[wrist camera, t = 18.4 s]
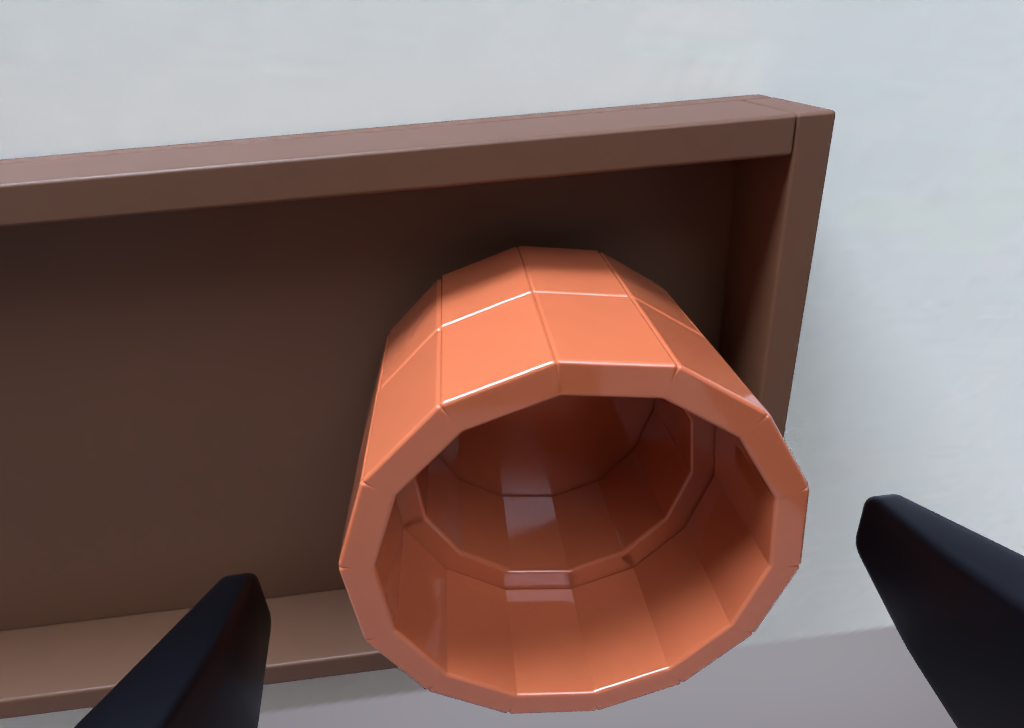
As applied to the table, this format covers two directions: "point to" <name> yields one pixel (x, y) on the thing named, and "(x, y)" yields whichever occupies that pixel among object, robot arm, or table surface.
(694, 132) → the tray
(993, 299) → the table surface
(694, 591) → the terracotta flower pot
